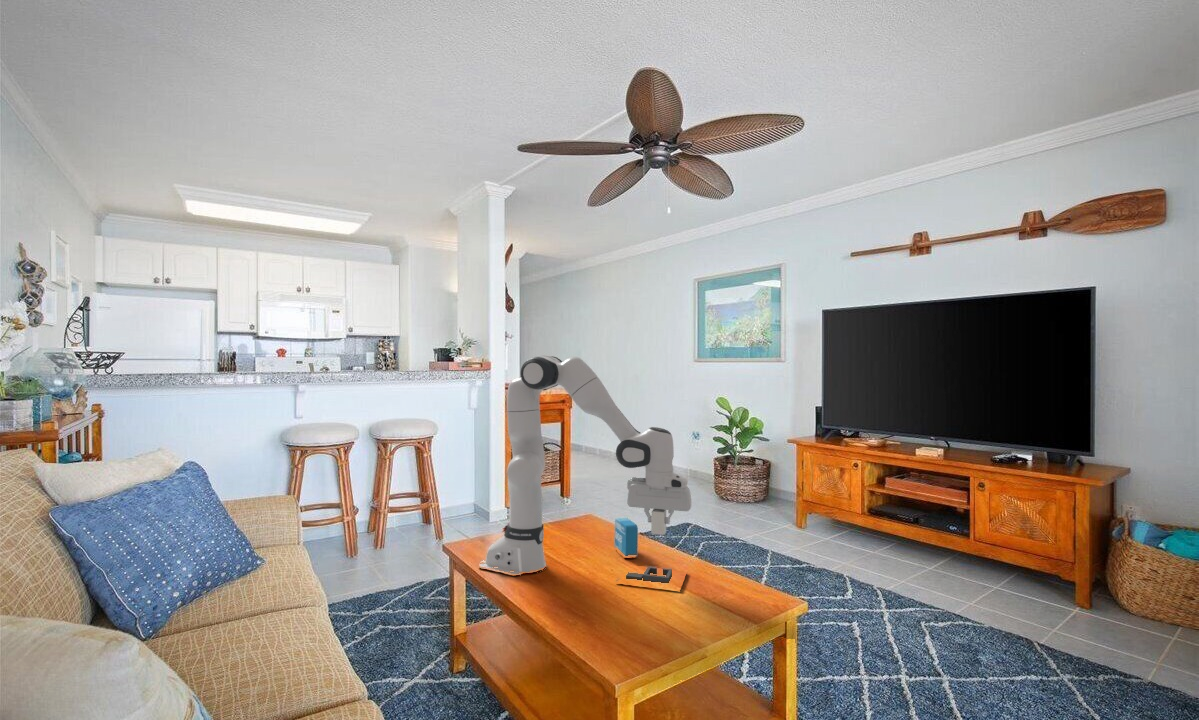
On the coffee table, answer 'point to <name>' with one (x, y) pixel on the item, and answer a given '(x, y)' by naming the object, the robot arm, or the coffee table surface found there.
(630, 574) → the board
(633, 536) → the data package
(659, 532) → the plug
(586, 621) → the coffee table surface
